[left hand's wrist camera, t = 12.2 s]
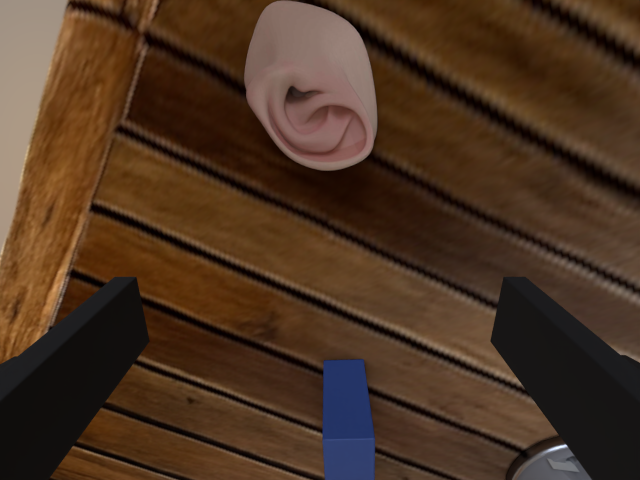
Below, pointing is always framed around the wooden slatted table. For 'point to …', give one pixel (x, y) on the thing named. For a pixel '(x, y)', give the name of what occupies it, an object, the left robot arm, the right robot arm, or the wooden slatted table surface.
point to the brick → (347, 422)
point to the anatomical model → (312, 85)
